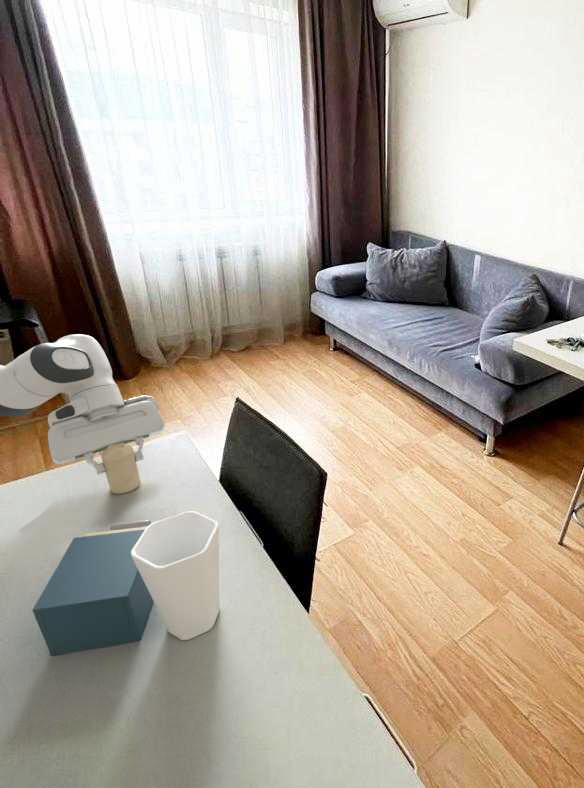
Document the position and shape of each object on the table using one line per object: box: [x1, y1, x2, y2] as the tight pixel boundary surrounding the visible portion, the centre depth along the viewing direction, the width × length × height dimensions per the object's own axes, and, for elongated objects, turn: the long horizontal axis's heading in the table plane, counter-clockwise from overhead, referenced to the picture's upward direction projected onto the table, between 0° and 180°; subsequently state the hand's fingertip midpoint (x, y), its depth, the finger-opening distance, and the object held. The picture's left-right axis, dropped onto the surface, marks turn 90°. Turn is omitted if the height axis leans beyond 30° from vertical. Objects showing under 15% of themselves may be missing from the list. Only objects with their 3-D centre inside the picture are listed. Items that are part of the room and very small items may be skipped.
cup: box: [131, 510, 221, 641], centre depth 74 cm, size 11×10×17 cm
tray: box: [82, 519, 152, 537], centre depth 81 cm, size 17×10×8 cm, turn 14°
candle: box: [100, 442, 141, 495], centre depth 103 cm, size 6×6×10 cm
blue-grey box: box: [32, 529, 155, 657], centre depth 77 cm, size 14×12×10 cm
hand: (120, 466), depth 102 cm, fingers closed on candle, 5 cm apart
